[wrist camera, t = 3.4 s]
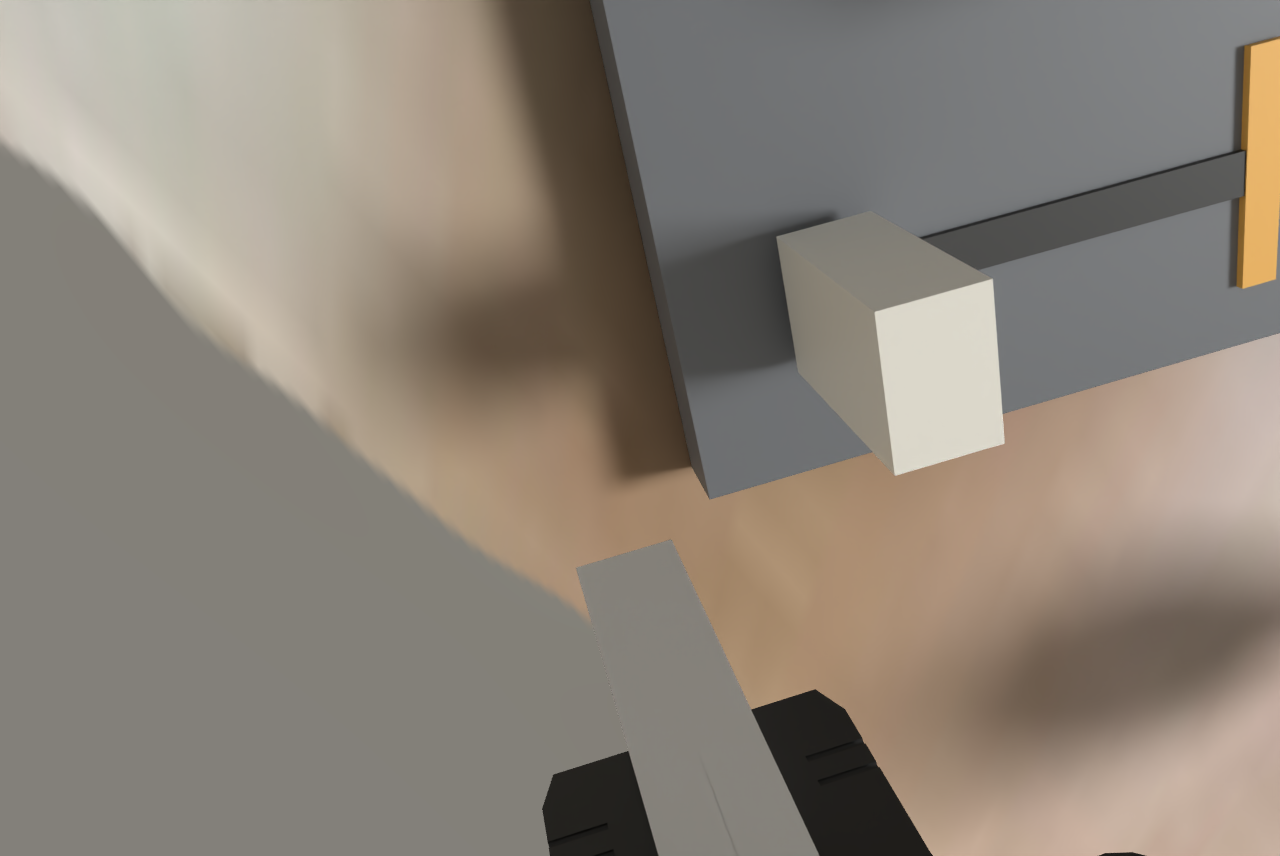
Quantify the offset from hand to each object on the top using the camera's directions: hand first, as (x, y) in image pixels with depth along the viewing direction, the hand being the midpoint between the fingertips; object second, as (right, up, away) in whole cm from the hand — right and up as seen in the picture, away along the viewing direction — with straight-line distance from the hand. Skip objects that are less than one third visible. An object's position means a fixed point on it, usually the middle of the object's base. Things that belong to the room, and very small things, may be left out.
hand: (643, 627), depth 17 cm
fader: (+5, +6, +10) cm, 13 cm away
